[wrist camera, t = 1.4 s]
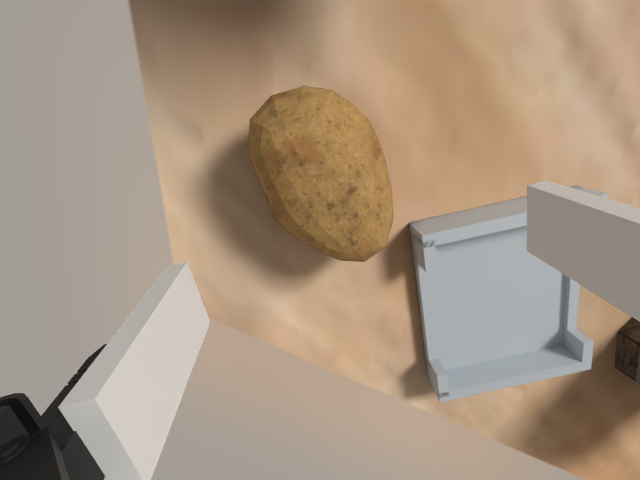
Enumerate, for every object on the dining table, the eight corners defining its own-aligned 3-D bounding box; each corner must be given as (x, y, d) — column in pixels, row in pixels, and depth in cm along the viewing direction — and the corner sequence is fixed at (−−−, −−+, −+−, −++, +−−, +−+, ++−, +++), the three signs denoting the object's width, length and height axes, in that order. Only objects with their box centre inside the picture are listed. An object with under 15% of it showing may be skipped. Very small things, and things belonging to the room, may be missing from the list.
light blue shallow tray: (409, 222, 33) (422, 235, 30) (577, 185, 33) (608, 194, 29) (427, 377, 40) (440, 402, 37) (566, 347, 40) (591, 369, 36)
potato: (316, 260, 34) (323, 304, 26) (227, 129, 29) (204, 138, 21) (406, 207, 32) (441, 238, 25) (328, 61, 28) (342, 45, 20)
